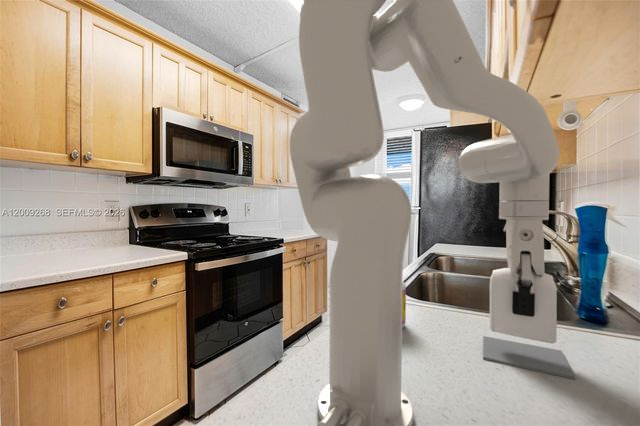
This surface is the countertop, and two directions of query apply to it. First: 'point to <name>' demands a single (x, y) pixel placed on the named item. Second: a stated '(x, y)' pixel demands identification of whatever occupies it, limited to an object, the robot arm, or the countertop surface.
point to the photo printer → (519, 325)
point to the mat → (526, 356)
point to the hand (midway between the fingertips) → (521, 309)
